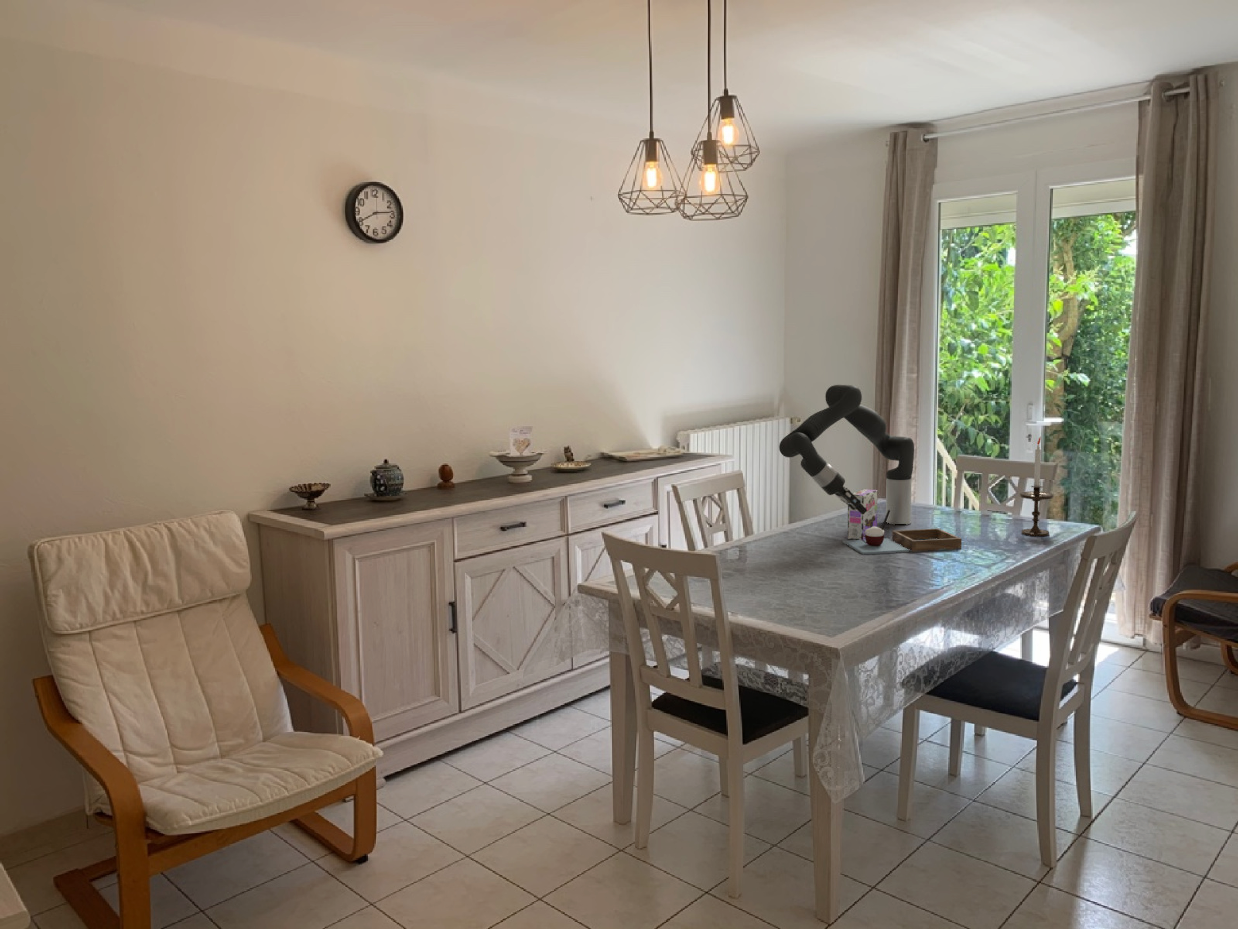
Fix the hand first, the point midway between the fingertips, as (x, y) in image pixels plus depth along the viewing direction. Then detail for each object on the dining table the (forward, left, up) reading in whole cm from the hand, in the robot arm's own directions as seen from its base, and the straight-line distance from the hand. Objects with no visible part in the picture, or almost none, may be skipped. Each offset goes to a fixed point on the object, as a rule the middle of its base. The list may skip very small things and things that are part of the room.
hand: (860, 510), depth 314 cm
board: (0, +6, -13) cm, 14 cm away
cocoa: (0, +6, -13) cm, 14 cm away
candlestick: (-7, +68, -13) cm, 69 cm away
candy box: (-17, +8, -13) cm, 23 cm away
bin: (0, +24, -13) cm, 27 cm away
